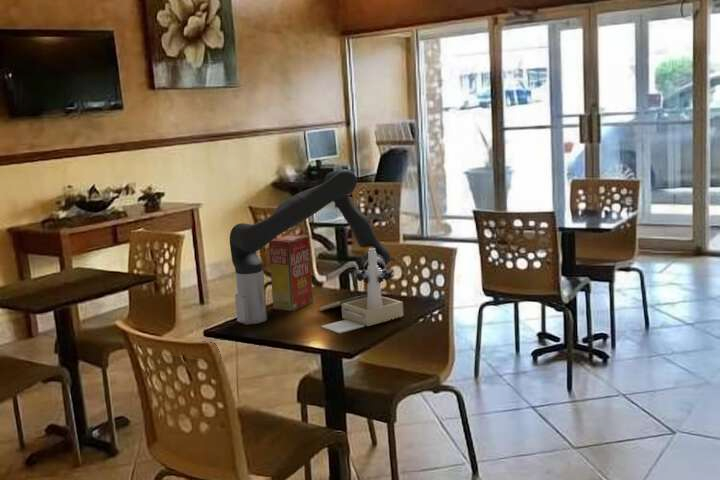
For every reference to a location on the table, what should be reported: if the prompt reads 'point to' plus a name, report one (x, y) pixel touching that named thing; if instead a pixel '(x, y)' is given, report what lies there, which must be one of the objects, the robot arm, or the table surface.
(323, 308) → the lid
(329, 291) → the table surface
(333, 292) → the table surface
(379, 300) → the cosmetic bottle
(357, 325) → the mat
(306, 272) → the food packaging
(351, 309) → the case
